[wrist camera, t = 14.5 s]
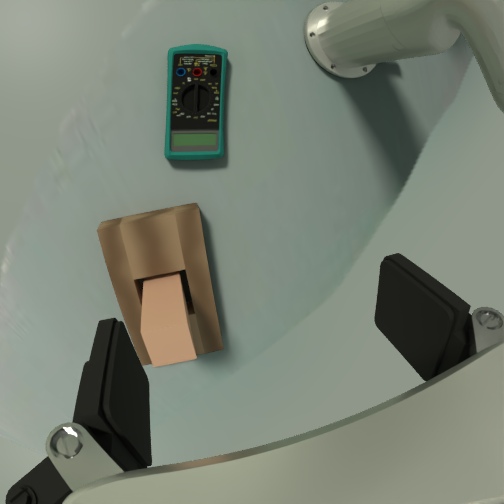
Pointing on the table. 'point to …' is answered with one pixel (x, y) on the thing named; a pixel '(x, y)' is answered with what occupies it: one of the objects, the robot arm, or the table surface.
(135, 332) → the wooden peg hole block
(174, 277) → the square peg
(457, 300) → the robot arm
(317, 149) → the table surface
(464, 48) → the table surface
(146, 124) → the table surface
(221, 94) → the digital multimeter
